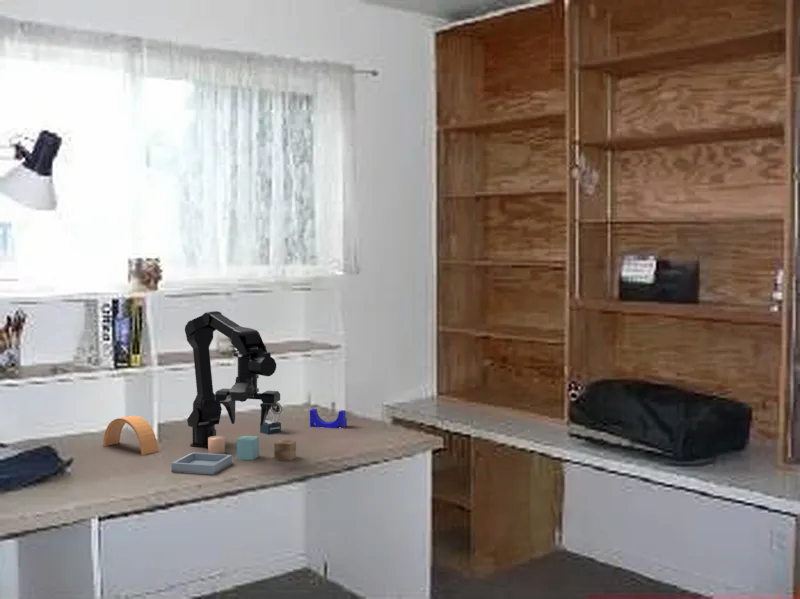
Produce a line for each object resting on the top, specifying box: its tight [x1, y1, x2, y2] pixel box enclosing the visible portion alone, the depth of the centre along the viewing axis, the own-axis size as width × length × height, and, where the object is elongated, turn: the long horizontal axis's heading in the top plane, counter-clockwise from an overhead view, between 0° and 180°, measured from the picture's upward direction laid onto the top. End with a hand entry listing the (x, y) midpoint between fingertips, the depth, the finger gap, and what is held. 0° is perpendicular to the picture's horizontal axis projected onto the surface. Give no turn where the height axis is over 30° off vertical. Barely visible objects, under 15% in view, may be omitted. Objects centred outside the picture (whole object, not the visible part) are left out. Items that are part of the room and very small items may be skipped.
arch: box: [102, 415, 159, 456], centre depth 270 cm, size 6×20×10 cm, turn 53°
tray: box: [171, 452, 233, 476], centre depth 248 cm, size 13×13×2 cm
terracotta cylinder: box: [207, 435, 226, 455], centre depth 264 cm, size 5×5×5 cm
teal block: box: [236, 435, 260, 461], centre depth 260 cm, size 5×5×6 cm
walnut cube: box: [273, 439, 297, 462], centre depth 259 cm, size 5×5×5 cm
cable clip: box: [309, 408, 348, 429], centre depth 304 cm, size 12×4×6 cm, turn 77°
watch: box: [259, 401, 283, 435], centre depth 294 cm, size 6×8×11 cm
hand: (247, 424), depth 259 cm, fingers open, 9 cm apart
